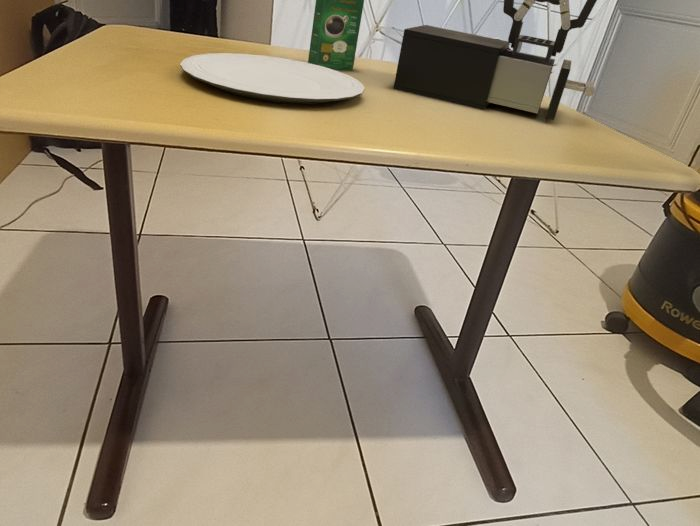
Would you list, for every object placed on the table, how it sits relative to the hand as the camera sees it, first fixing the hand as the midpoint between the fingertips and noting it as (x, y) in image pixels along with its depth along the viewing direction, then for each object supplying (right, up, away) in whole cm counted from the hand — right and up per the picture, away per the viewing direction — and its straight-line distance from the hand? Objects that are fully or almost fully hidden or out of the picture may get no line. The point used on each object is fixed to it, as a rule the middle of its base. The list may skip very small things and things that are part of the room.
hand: (533, 51), depth 85 cm
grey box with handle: (0, -7, +4) cm, 8 cm away
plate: (-39, -8, -8) cm, 40 cm away
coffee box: (-31, 0, +10) cm, 33 cm away
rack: (0, -1, 0) cm, 1 cm away
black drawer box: (-12, -4, +7) cm, 15 cm away
